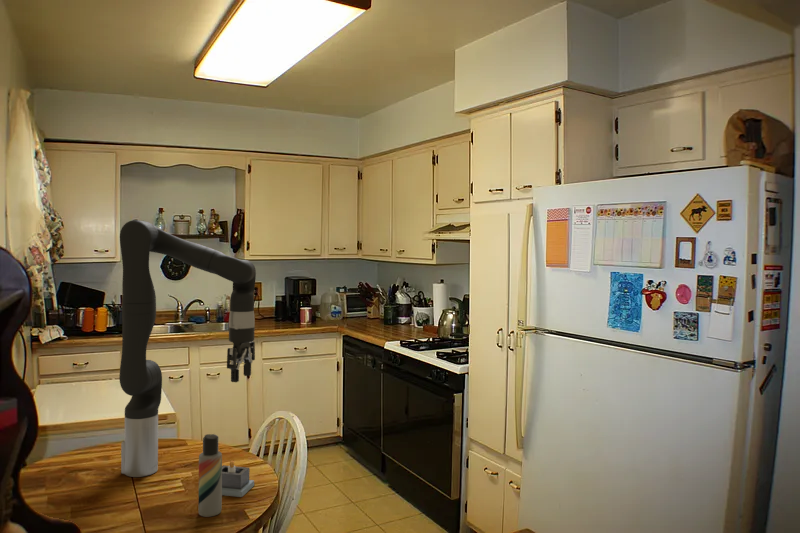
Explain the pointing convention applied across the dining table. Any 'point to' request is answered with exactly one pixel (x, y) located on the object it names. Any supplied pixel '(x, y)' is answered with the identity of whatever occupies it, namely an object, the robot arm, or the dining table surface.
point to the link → (235, 477)
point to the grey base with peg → (237, 491)
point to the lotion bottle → (210, 477)
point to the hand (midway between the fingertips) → (241, 378)
